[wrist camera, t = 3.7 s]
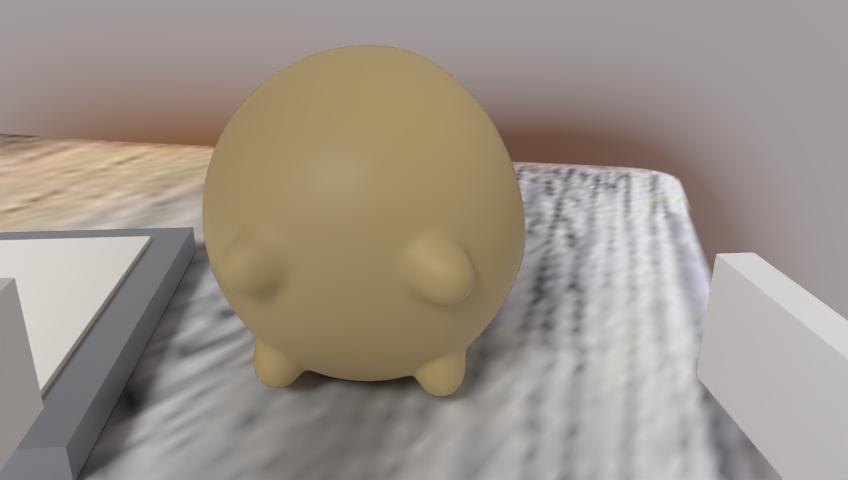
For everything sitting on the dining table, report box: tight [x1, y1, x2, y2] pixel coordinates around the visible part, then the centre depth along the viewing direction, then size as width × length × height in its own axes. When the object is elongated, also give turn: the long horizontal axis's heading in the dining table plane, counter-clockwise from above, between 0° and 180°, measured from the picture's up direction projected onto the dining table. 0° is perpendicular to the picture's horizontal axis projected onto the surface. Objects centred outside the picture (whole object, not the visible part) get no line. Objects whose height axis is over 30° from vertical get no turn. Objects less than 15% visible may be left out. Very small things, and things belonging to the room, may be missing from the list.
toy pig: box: [203, 45, 525, 397], centre depth 24 cm, size 10×12×11 cm
